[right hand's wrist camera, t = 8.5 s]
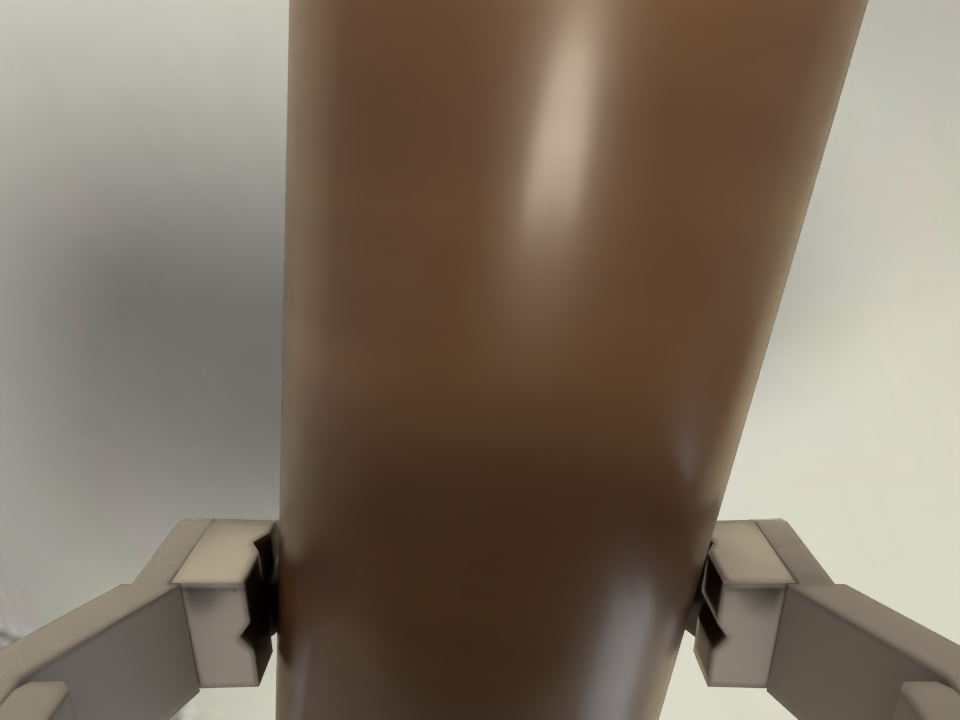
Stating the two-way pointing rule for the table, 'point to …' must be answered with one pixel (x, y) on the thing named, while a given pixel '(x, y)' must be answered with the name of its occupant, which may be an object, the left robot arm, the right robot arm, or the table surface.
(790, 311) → the table surface
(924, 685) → the right robot arm
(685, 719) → the table surface
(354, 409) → the rod
